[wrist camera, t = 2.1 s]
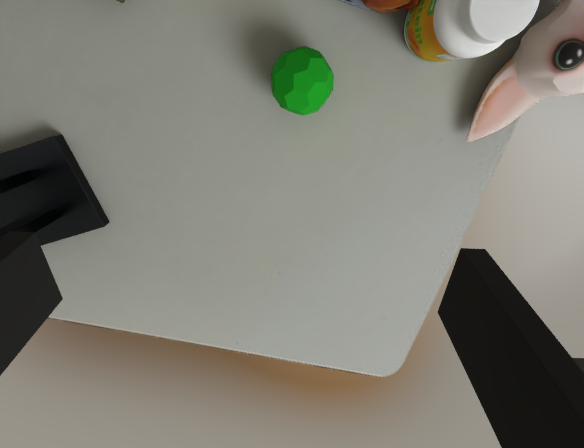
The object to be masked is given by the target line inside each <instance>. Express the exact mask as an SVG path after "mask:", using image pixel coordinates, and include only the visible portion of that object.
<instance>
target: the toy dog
mask: <svg viewBox="0 0 584 448" xmlns="http://www.w3.org/2000/svg"><path fill="white" fill-rule="evenodd" d="M580 93H584V0H561V2H560V3H559V4H558V6H557V7H556V8H555V9H554V11H553V12H552V13H550V14H549V15H548V16H546V17H545V18H543V19H542V20H541V21H539V22H538V23H536V24H535V25H533V26H532V27H530V29H529V30H528V31H527V32H526V33H525V34H524V36H523V37H522V39H521V43H520V46H519V48H518V49H517V51H516V52H515V54H514V55H513V57H512V58H511V59H510V60H509V61H508V62H507V63H506V64H505V65H504V66H503V67H502V68H501V69H500V70H499V71H498V72H497V73H496V74H495V76H494V77H493V78H492V79H491V81H490V83H489V84H488V86H487V87H486V89H485V91H484V93H483V95H482V97H481V99H480V101H479V104H478V106H477V109H476V111H475V114H474V117H473V120H472V123H471V126H470V130H469V133H468V137H467V140H466V142H470V141H474V140H477V139H479V138H482V137H484V136H486V135H489V134H491V133H493V132H496V131H498V130H500V129H502V128H503V127H505V126H506V125H508V124H510V123H511V122H512V121H513V120H515V119H516V118H517V117H519V116H520V115H521V114H522V113H524V112H525V111H526V110H527V109H528V108H530V107H531V106H532V105H534V104H535V103H537V102H538V101H540V100H542V99H545V98H554V97H565V96H571V95H575V94H580Z"/></svg>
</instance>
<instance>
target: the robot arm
mask: <svg viewBox="0 0 584 448" xmlns="http://www.w3.org/2000/svg"><path fill="white" fill-rule="evenodd" d="M62 299H63V298H62V296H61V294H60V291H59V289H58V286H57V284H56V282H55V279H54V277H53V274H52V272H51V270H50V267H49V265H48V263H47V260H46V258H45V255H44V253H43V251H42V248H41V246H40V243H39V241H38V239H37V236H36V234H35V232H8V233H7V234H6V235H4V236H3V237H2V238H0V375H1V374H2V373H3V371H4V370H5V369H6V368H7V367H8V365H9V364H10V363H11V362H12V361H13V359H14V358H15V357H16V356H17V354H18V353H19V352H20V351H21V349H22V348H23V347H24V346H25V345H26V343H27V342H28V341H29V340H30V338H31V337H32V336H33V335H34V333H35V332H36V331H37V330H38V328H39V327H40V326H41V325H42V324H43V322H44V321H45V320H46V319H47V318H48V316H49V315H50V314H51V313H52V311H53V310H54V309H55V308H56V307H57V305H58V304H59V303H60V302H61V300H62ZM438 314H439V316H440V318H441V320H442V322H443V324H444V327H445V329H446V330H447V333H448V335H449V337H450V339H451V341H452V343H453V345H454V348H455V350H456V352H457V354H458V356H459V358H460V360H461V362H462V365H463V366H464V369H465V371H466V373H467V375H468V377H469V379H470V381H471V384H472V386H473V388H474V390H475V392H476V394H477V396H478V398H479V400H480V403H481V405H482V407H483V408H484V411H485V413H486V415H487V417H488V419H489V422H490V424H491V426H492V428H493V430H494V432H495V434H496V436H497V439H498V441H499V443H500V445H501V447H502V448H584V358H572V357H571V356H570V355H569V354H568V352H567V351H566V350H565V349H564V347H563V346H562V345H561V344H560V342H559V341H558V340H557V339H556V338H555V336H554V335H553V334H552V332H551V331H550V330H549V329H548V327H547V326H546V325H545V324H544V322H543V321H542V320H541V319H540V317H539V316H538V315H537V314H536V313H535V311H534V310H533V309H532V307H531V306H530V305H529V304H528V302H527V301H526V300H525V299H524V297H523V296H522V295H521V294H520V293H519V291H518V290H517V289H516V287H515V286H514V285H513V284H512V282H511V281H510V280H509V279H508V277H507V276H506V275H505V274H504V272H503V271H502V270H501V269H500V267H499V266H498V265H497V264H496V262H495V261H494V260H493V259H492V257H491V256H490V255H489V253H488V252H487V251H486V250H485V249H464V248H461V249H460V252H459V254H458V257H457V260H456V263H455V266H454V268H453V271H452V274H451V276H450V279H449V282H448V285H447V288H446V290H445V293H444V296H443V299H442V301H441V305H440V307H439V310H438Z"/></svg>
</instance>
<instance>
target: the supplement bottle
mask: <svg viewBox="0 0 584 448" xmlns="http://www.w3.org/2000/svg"><path fill="white" fill-rule="evenodd" d="M539 1H540V0H420V2H419V4H418V6H416V7H414V8H412V9H410V10H409V11H408V14H407V17H406V20H405V25H404V36H405V41H406V44H407V46H408V48H409V50H410V51H411V52H412V54H413V55H414V56H416V57H417V58H419V59H421V60H423V61H427V62H441V61H450V60H458V59H467V58H474V57H478V56H482V55H485V54H487V53H489V52H491V51H493V50H494V49H496V48H497V47H499V46H500V45H501V44H502V43H503V42H504V41H505V40H507V39H509V38H512V37H513V36H515V35H517V34H518V33H520V32H521V31H522V30H523V29H524V28H525V27H526V26H527V25H528V24H529V22H530V21H531V20H532V18H533V16H534V15H535V12H536V10H537V8H538V5H539Z"/></svg>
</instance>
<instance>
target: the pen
mask: <svg viewBox="0 0 584 448" xmlns="http://www.w3.org/2000/svg"><path fill="white" fill-rule="evenodd" d="M340 1H343V2H345V3H348V4H350V5H354V6H357V7H359V8H362V9H366V10H369V11H372V9H370V8H367V7H365V5H364V4H363V2H362V0H350V1H349V0H340Z"/></svg>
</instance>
